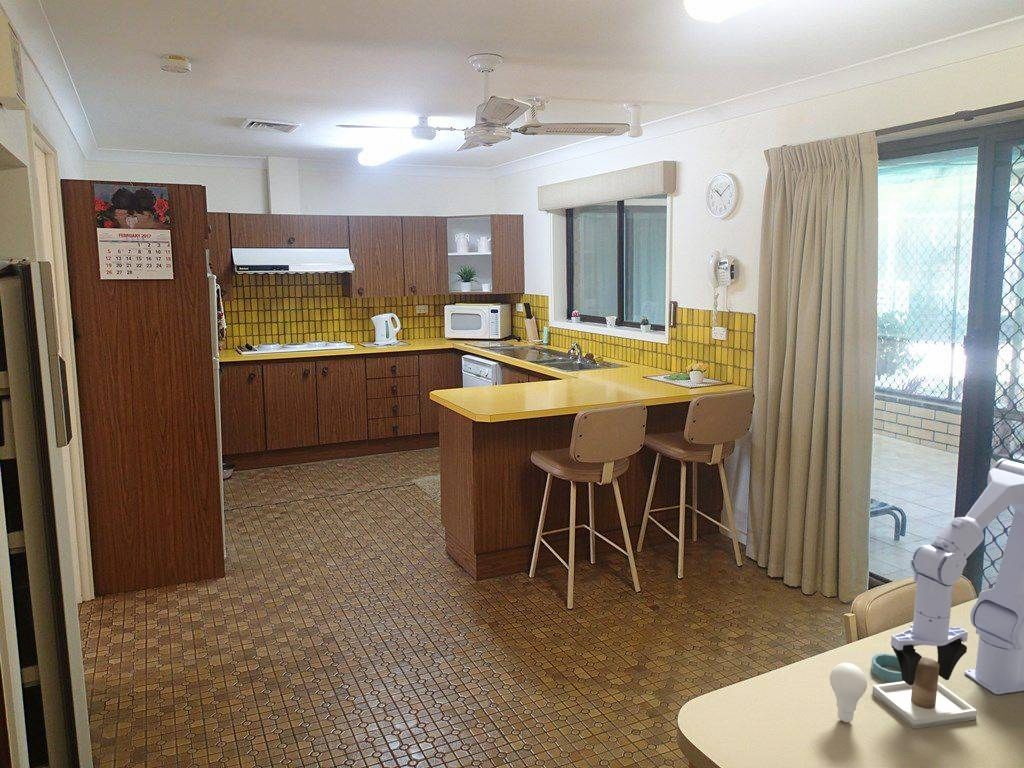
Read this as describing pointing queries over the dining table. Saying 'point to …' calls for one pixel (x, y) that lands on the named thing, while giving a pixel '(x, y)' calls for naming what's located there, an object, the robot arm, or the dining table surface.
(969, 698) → the dining table surface
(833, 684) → the lightbulb
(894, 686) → the tray
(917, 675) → the dowel
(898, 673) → the teal ring
